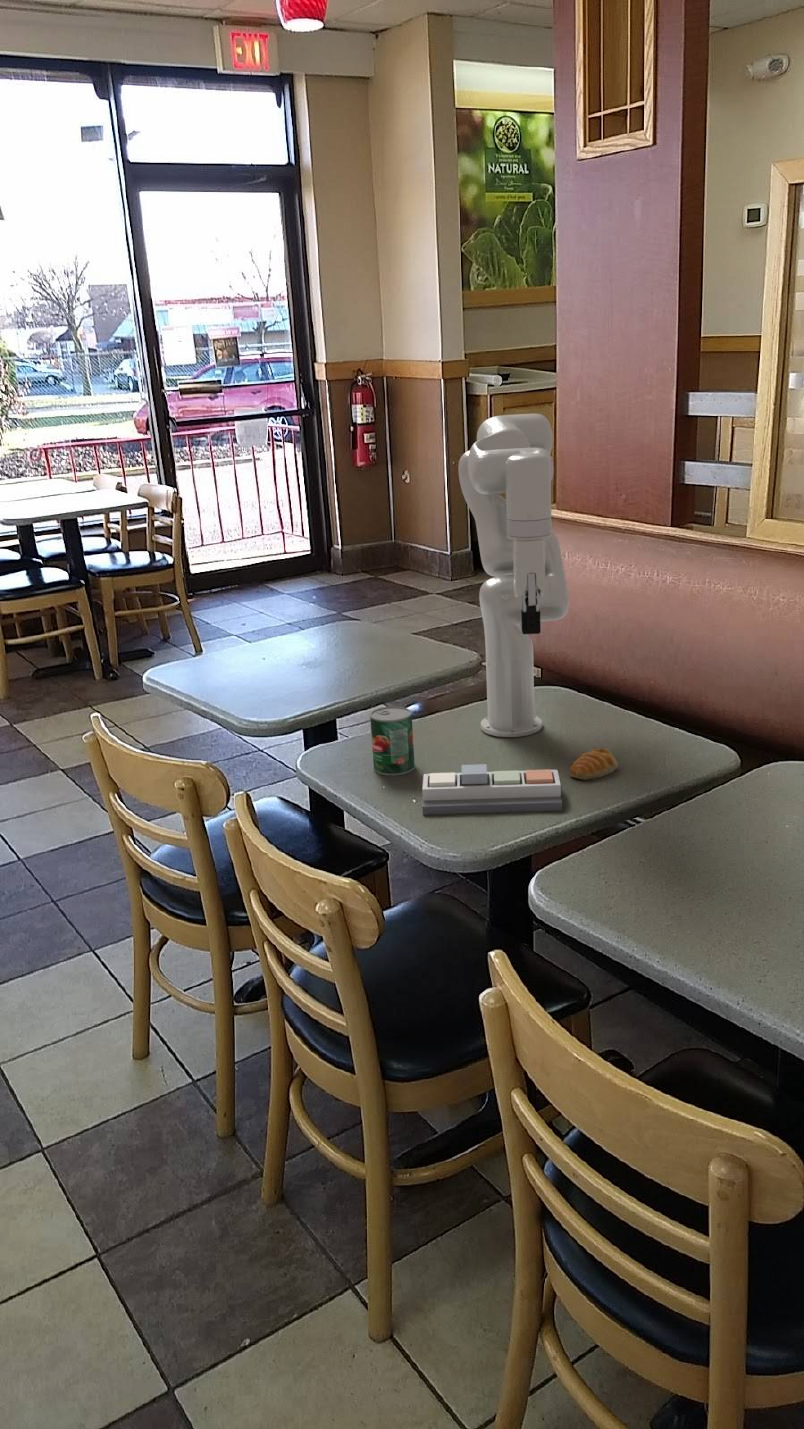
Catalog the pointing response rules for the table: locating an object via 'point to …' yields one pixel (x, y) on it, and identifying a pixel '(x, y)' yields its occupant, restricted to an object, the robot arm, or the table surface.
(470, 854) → the table surface
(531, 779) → the terracotta key
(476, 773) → the slate key
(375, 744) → the canned tomato
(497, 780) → the sage key
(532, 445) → the robot arm
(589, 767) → the pastry
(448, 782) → the ivory key
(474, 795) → the keypad
